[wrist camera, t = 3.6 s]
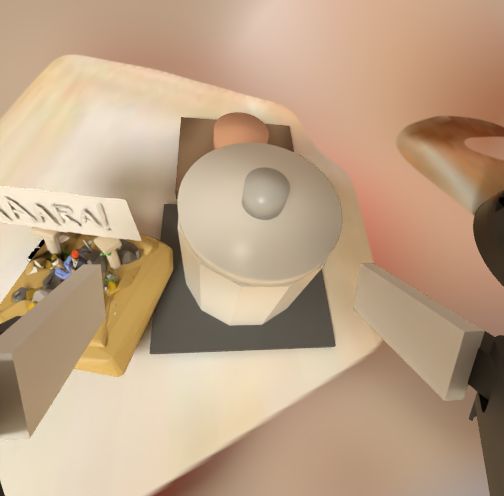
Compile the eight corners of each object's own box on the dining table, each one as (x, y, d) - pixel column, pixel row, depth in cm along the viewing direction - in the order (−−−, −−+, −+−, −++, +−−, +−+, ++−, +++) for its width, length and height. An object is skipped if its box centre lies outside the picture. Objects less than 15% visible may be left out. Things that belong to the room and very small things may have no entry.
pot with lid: (290, 224, 28) (335, 129, 18) (304, 323, 23) (373, 267, 14) (189, 221, 26) (180, 116, 17) (183, 326, 22) (168, 266, 12)
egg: (261, 138, 32) (266, 114, 29) (265, 175, 29) (271, 153, 27) (213, 135, 31) (213, 110, 28) (212, 173, 28) (213, 149, 26)
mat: (308, 212, 29) (310, 209, 29) (333, 346, 23) (335, 345, 23) (164, 207, 27) (164, 204, 27) (150, 354, 21) (149, 353, 21)
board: (286, 134, 34) (289, 126, 33) (297, 203, 30) (301, 196, 29) (181, 126, 32) (181, 117, 31) (176, 199, 28) (175, 191, 27)
